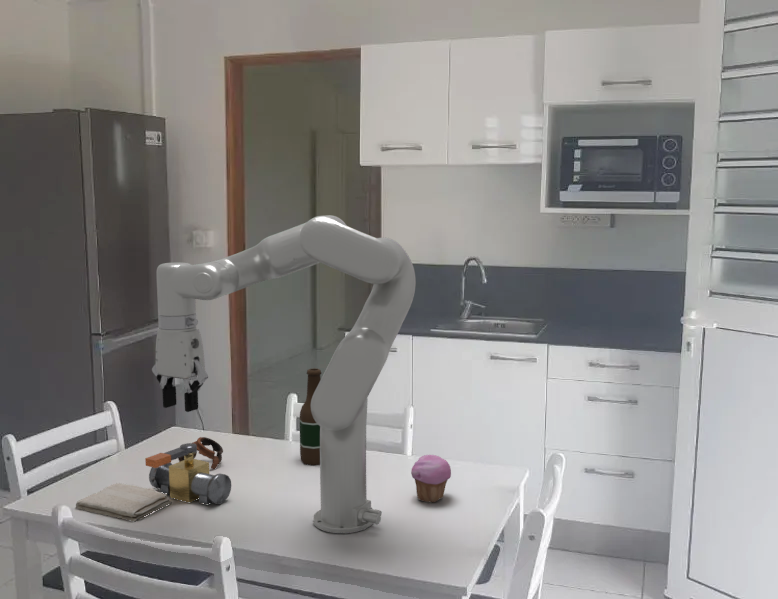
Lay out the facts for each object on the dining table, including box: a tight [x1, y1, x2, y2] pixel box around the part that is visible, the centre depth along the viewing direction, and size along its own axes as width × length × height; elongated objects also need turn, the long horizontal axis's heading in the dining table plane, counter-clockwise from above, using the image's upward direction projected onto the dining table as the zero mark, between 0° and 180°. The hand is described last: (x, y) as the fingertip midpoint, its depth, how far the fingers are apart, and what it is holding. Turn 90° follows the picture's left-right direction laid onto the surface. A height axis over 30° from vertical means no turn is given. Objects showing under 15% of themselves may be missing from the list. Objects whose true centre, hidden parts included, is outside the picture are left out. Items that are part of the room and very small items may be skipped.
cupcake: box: [410, 454, 452, 503], centre depth 171 cm, size 9×9×10 cm
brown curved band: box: [177, 436, 224, 470], centre depth 192 cm, size 12×10×8 cm
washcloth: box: [75, 482, 172, 522], centre depth 168 cm, size 12×18×3 cm, turn 65°
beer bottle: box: [299, 367, 322, 466], centre depth 196 cm, size 8×8×24 cm
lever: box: [144, 442, 198, 468], centre depth 168 cm, size 4×13×2 cm, turn 149°
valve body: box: [148, 454, 232, 505], centre depth 173 cm, size 19×6×10 cm, turn 59°
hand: (180, 407), depth 160 cm, fingers open, 5 cm apart
